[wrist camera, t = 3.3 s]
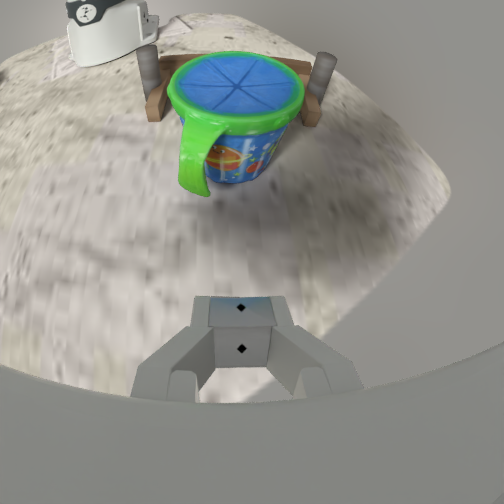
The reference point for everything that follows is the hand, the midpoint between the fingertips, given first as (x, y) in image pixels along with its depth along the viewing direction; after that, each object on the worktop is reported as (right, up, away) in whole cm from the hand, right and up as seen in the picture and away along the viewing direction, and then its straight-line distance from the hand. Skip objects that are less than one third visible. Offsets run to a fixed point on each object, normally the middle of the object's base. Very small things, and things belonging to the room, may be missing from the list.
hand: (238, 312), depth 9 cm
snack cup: (-2, +12, +18) cm, 22 cm away
